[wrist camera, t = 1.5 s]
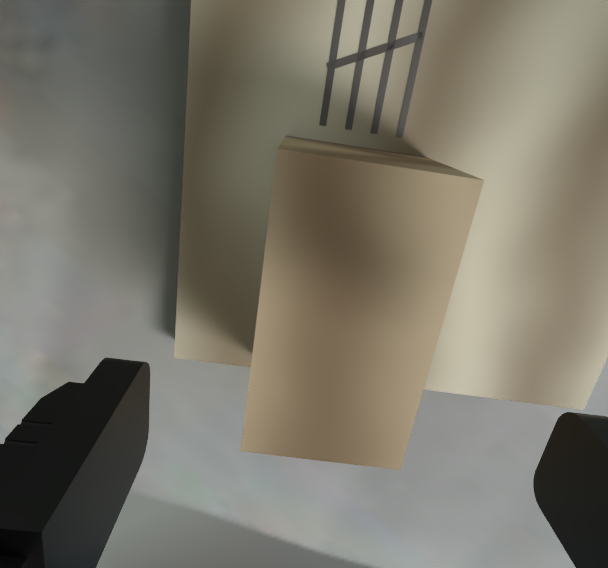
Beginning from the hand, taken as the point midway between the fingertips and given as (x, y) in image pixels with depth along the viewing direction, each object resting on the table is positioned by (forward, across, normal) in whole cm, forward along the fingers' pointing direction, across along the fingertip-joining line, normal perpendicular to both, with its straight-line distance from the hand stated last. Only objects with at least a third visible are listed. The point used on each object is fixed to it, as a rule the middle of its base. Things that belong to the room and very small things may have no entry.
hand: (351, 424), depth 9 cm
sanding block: (+9, 0, 0) cm, 9 cm away
